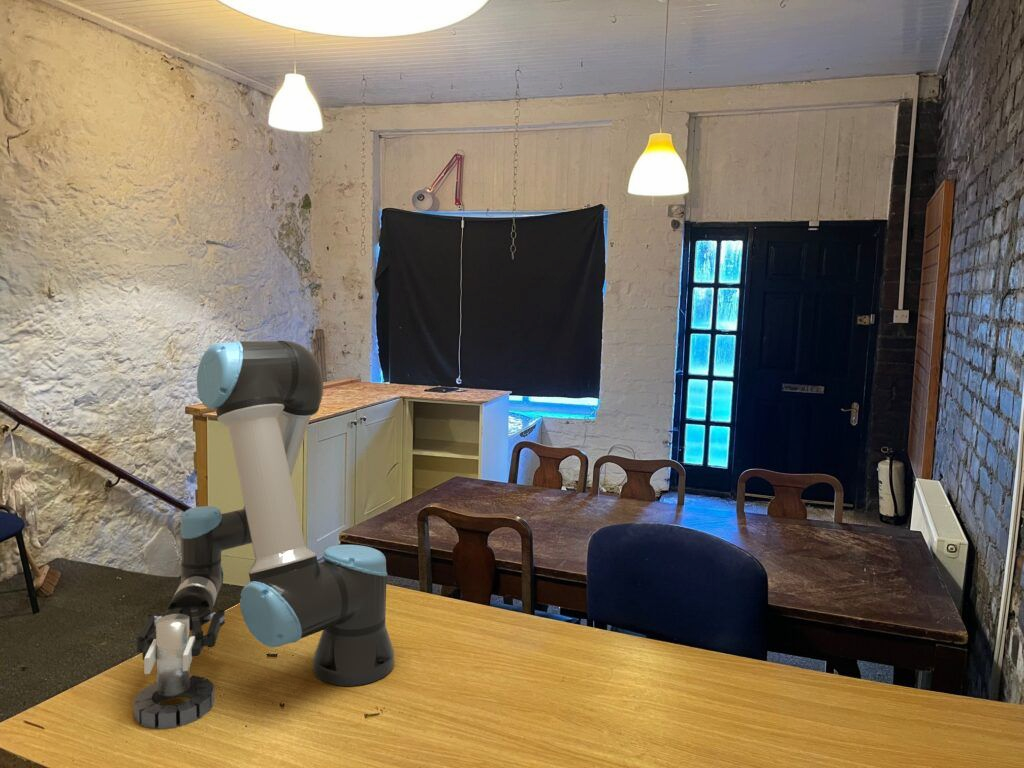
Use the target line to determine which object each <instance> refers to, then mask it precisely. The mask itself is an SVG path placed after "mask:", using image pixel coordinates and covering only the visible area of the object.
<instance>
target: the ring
mask: <svg viewBox="0 0 1024 768" xmlns="http://www.w3.org/2000/svg"><path fill="white" fill-rule="evenodd" d="M178 697H188V698H190V699H188V700H185V701H183V702H180V703H178V704H169V705H162V704H160V703H162V702H163V701H167V700H170V699H172V698H178ZM214 703H215V685H214V683H213V682H212V681H211V680H210V679H208V678H206V676H205V677H204V676H200V675H190V687H189V688H188V689H187V690H186V691H184V692H183V693H180V694H177V695H173V696H163V695H160V694H159V693H158V692H157V681H154V683H151V684H149V685H147V686H146V687H144V688H143V689H141V690H140V691H139V693H138V692H137V694H136V697H135V699H134V701H133V717H134V720H135V721H136V723H138V725H139V726H140V725H141V727H145V728H149V729H153V730H155V729H157V728H158V730H164V729H165V730H166V729H173V728H177V726H178V725H179V727H182V726H185V725H187V724H188V725H189V723H194V722H196V721H197V720H198V719H201V718H202V717H204V716H205V715H207V713H209V712H210V711H211V709H212V708H213V706H214Z"/></svg>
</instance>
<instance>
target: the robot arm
mask: <svg viewBox="0 0 1024 768" xmlns="http://www.w3.org/2000/svg"><path fill="white" fill-rule="evenodd" d="M196 373H197V374H196V390H197V396H198V398H199V400H200V401H201V402H202V403H201V404H202V405H203V406H204V407H205V408H207V409H210V410H215V413H216V417H217V421H218V422H219V423H221V424H222V425H224V426H225V427H227V428H228V431H229V436H230V441H231V446H232V450H233V451H232V452H233V456H234V460H235V462H234V463H235V466H236V470H237V476H238V480H239V485H240V490H241V496H242V500H243V504H244V505H243V508H242V509H237V510H234V511H229V512H224V513H222V512H221V510H220V508H218V507H217V506H213V505H204V506H195V507H191V508H188V509H186V510H185V511H184V512H183V513H182V515H181V522H180V532H179V534H180V535H179V536H180V548H181V549H180V551H181V552H180V553H181V563H180V567H181V568H180V576H181V577H180V578H181V579H180V583H179V585H178V587H177V588H176V591H175V593H174V595H173V597H172V599H171V601H170V604H169V605H168V608H167V610H166V611H164V612H163V613H162V614H161V615H159V616H157V615H155V614H153V613H147V614H146V615H145V623H144V625H143V626H142V628H141V629H140V631H139V633H138V634H137V636H136V652H137V653H142V660H143V661H144V662H143V665H144V669H143V670H144V672H143V673H144V675H150V673H151V672H152V669H153V667H154V665H155V663H156V662H157V641H156V622H157V620H158V619H160V618H161V617H163V616H166V615H171V614H185V615H187V616H189V631H190V633H191V636H189V641H188V644H187V646H186V649H185V651H184V654H183V671H188V669H189V666H191V663H192V660H193V658H194V657H199V656H200V655H201V654H202V653H201V652H202V650H203V649H204V647H207V648H213V647H215V645H216V643H217V640H218V635H219V634H220V633H219V632H220V628H222V627H223V625H225V624H226V621H225V620H226V618H225V617H226V615H225V614H226V610H225V609H219V610H218V611H216V612H212V611H213V608H214V605H215V603H216V600H217V597H218V594H219V592H220V590H221V588H222V585H223V583H224V573H225V572H224V568H223V566H222V552H223V551H225V550H226V551H227V550H230V549H235V548H237V547H241V546H245V545H249V544H252V548H253V554H254V562H253V564H252V565H251V567H250V569H249V570H248V576H249V580H250V581H249V582H247V584H246V585H245V586H244V587H243V588H242V589H241V593H240V597H241V598H240V599H239V604H240V611H241V615H242V618H243V620H244V623H245V625H246V627H247V629H248V631H249V632H250V634H251V635H252V636H253V637H254V638H255V639H256V640H257V642H259V643H261V645H264V646H266V647H270V648H278V647H281V646H282V647H283V646H284V645H288V644H292V643H293V644H294V643H297V642H299V641H300V640H301V639H304V638H306V637H309V636H311V635H314V634H317V633H320V632H321V635H320V638H319V641H318V643H317V647H316V649H315V652H314V656H313V673H314V675H315V676H316V678H318V680H320V681H322V682H324V683H327V684H330V685H334V686H341V687H343V686H344V687H352V686H362V685H366V684H371V683H374V682H377V681H378V680H381V679H383V678H385V677H386V676H388V675H389V673H390V672H391V671H392V670H393V669H394V665H395V650H394V648H393V645H392V641H391V639H390V635H389V631H388V629H387V625H386V615H387V613H386V611H387V608H386V607H387V605H386V604H387V603H386V602H387V578H388V577H387V576H388V572H387V559H386V555H384V553H383V552H382V551H380V550H378V549H376V548H373V547H370V546H365V545H358V544H339V545H337V544H336V545H332V546H330V547H329V546H328V547H327V548H326V549H325V550H324V551H323V555H322V559H323V561H320V562H319V561H318V558H317V554H316V552H314V551H312V550H311V549H309V548H308V547H307V546H306V543H305V539H304V534H303V529H302V524H301V520H300V515H299V510H298V505H297V501H296V495H295V491H294V487H293V482H292V476H293V472H294V469H295V466H296V463H297V460H298V457H299V454H300V451H301V448H302V445H303V441H304V438H305V436H306V433H307V429H308V426H309V423H310V420H311V416H314V415H317V413H318V411H319V409H320V406H321V402H322V401H323V394H324V378H323V373H322V369H321V367H320V364H319V362H318V360H317V358H316V357H315V356H314V355H313V354H312V352H310V350H309V349H307V348H306V347H305V346H303V345H301V344H298V343H297V342H293V341H290V340H276V341H275V340H274V341H271V340H270V341H269V340H268V341H267V340H266V341H264V340H262V341H261V340H259V341H257V340H256V341H253V340H252V341H251V340H249V341H245V340H244V341H239V340H232V341H230V342H217V343H214V344H212V345H211V346H209V347H208V348H207V349H206V351H204V353H203V355H202V356H201V359H200V362H199V365H198V368H197V372H196ZM209 622H210V624H209V626H208V630H207V633H206V634H204V630H203V629H202V626H204V625H205V624H207V623H209Z"/></svg>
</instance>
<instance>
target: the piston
mask: <svg viewBox="0 0 1024 768" xmlns="http://www.w3.org/2000/svg"><path fill="white" fill-rule="evenodd" d="M155 631H156V641H157V659H156V682H157V692H158V693H159V694H160V695H163V696H173V695H177V694H180V693H183V692H184V691H186V690H187V689H188V688H189V687H190V677H191V675H190V674H191V671H190V670H191V669H190V666H191V665H190V666H189V669H188V671H183V654H184V651H185V649H186V646H187V644H188V641H189V639H190V630H189V616H187V615H185V614H171V615H166V616H163V617H161V618H160V619H158V620H157V622H156V630H155Z"/></svg>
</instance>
